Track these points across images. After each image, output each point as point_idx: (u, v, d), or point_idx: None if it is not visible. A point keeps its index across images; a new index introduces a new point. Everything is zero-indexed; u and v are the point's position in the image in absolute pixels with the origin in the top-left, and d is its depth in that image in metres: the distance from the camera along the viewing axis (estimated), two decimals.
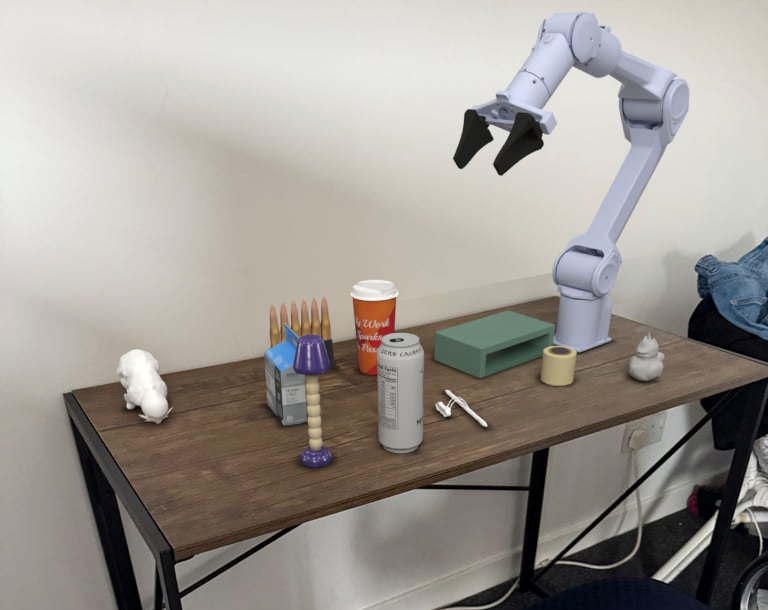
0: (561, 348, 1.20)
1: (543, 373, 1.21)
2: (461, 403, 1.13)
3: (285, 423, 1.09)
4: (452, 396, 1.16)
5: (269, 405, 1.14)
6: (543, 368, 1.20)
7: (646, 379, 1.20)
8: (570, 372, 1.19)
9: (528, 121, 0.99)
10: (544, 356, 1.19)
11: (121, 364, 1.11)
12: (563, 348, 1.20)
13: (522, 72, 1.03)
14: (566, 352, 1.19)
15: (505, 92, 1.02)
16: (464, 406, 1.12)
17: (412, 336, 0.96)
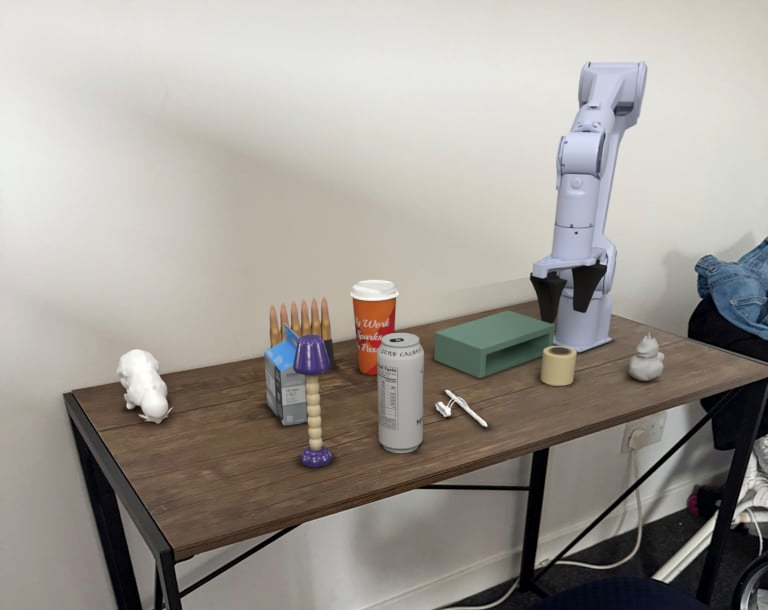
0: (561, 348, 1.20)
1: (543, 373, 1.21)
2: (461, 403, 1.13)
3: (285, 423, 1.09)
4: (452, 396, 1.16)
5: (269, 405, 1.14)
6: (543, 368, 1.20)
7: (646, 379, 1.20)
8: (570, 372, 1.19)
9: None
10: (544, 356, 1.19)
11: (121, 364, 1.11)
12: (563, 348, 1.20)
13: (589, 228, 1.07)
14: (566, 352, 1.19)
15: (595, 261, 1.09)
16: (464, 406, 1.12)
17: (412, 336, 0.96)
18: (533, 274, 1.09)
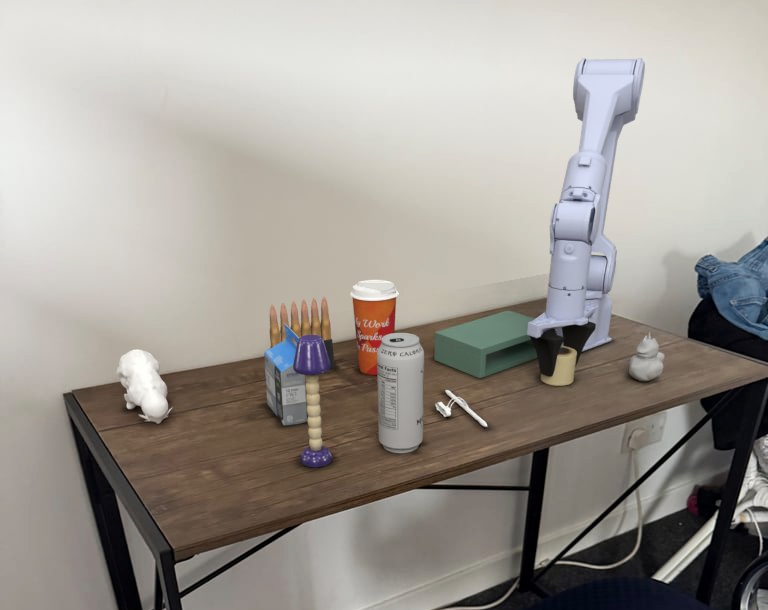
0: (561, 348, 1.20)
1: None
2: (461, 403, 1.13)
3: (285, 423, 1.09)
4: (452, 396, 1.16)
5: (269, 405, 1.14)
6: None
7: (646, 379, 1.20)
8: (570, 372, 1.19)
9: None
10: None
11: (121, 364, 1.11)
12: (563, 348, 1.20)
13: (581, 289, 1.12)
14: (566, 352, 1.19)
15: (587, 320, 1.14)
16: (464, 406, 1.12)
17: (412, 336, 0.96)
18: (528, 333, 1.14)
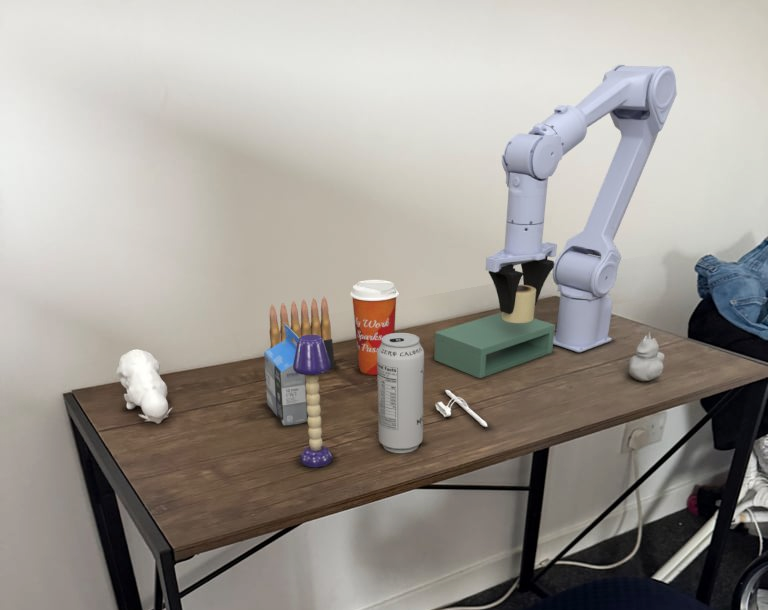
0: (521, 286, 1.22)
1: None
2: (461, 403, 1.13)
3: (285, 423, 1.09)
4: (452, 396, 1.16)
5: (269, 405, 1.14)
6: None
7: (646, 379, 1.20)
8: (529, 309, 1.21)
9: None
10: None
11: (121, 364, 1.11)
12: (523, 286, 1.22)
13: (538, 224, 1.14)
14: (525, 289, 1.21)
15: (545, 256, 1.16)
16: (464, 406, 1.12)
17: (412, 336, 0.96)
18: (486, 268, 1.16)
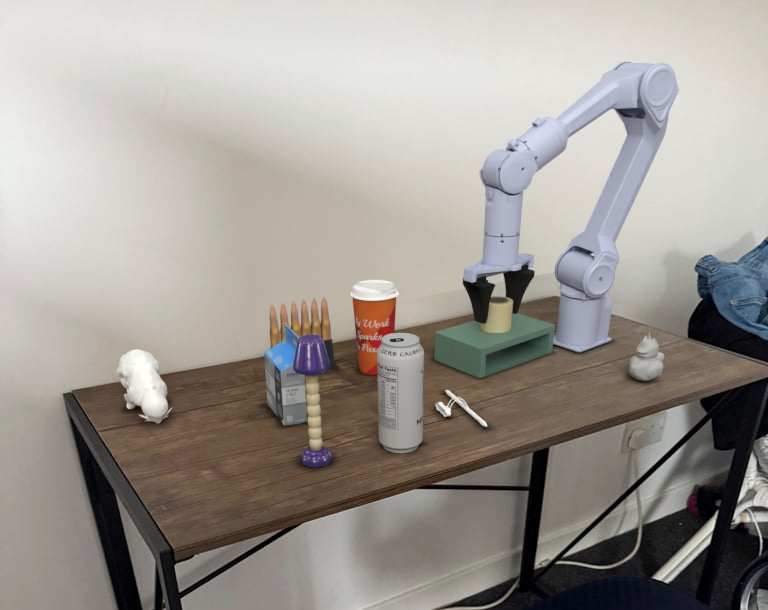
0: (499, 297, 1.27)
1: None
2: (461, 403, 1.13)
3: (285, 423, 1.09)
4: (452, 396, 1.16)
5: (269, 405, 1.14)
6: None
7: (646, 379, 1.20)
8: (506, 320, 1.26)
9: None
10: None
11: (121, 364, 1.11)
12: (501, 297, 1.27)
13: (513, 237, 1.18)
14: (502, 301, 1.25)
15: (520, 267, 1.21)
16: (464, 406, 1.12)
17: (412, 336, 0.96)
18: (464, 279, 1.20)
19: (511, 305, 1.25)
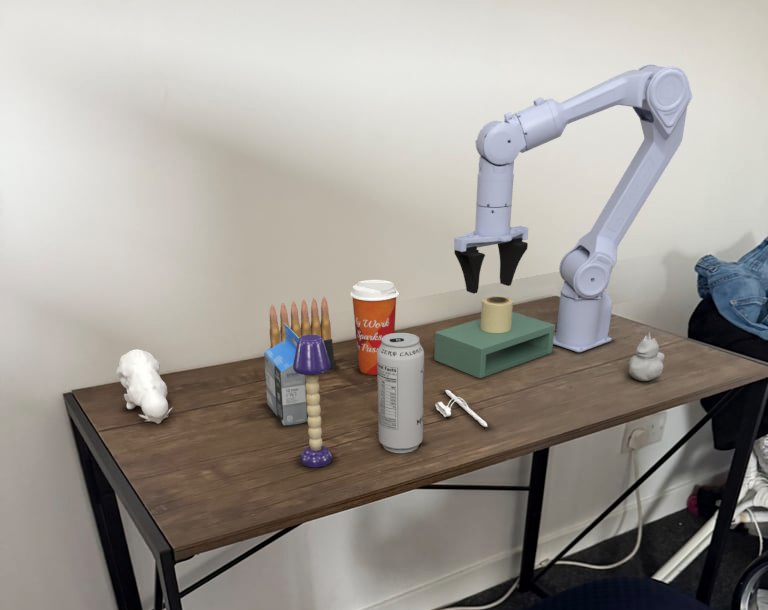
0: (499, 297, 1.27)
1: (482, 321, 1.27)
2: (461, 403, 1.13)
3: (285, 423, 1.09)
4: (452, 396, 1.16)
5: (269, 405, 1.14)
6: (482, 316, 1.27)
7: (646, 379, 1.20)
8: (506, 320, 1.26)
9: None
10: (482, 305, 1.26)
11: (121, 364, 1.11)
12: (501, 297, 1.27)
13: (504, 207, 1.21)
14: (502, 301, 1.25)
15: (511, 237, 1.23)
16: (464, 406, 1.12)
17: (412, 336, 0.96)
18: (454, 248, 1.23)
19: (511, 305, 1.25)
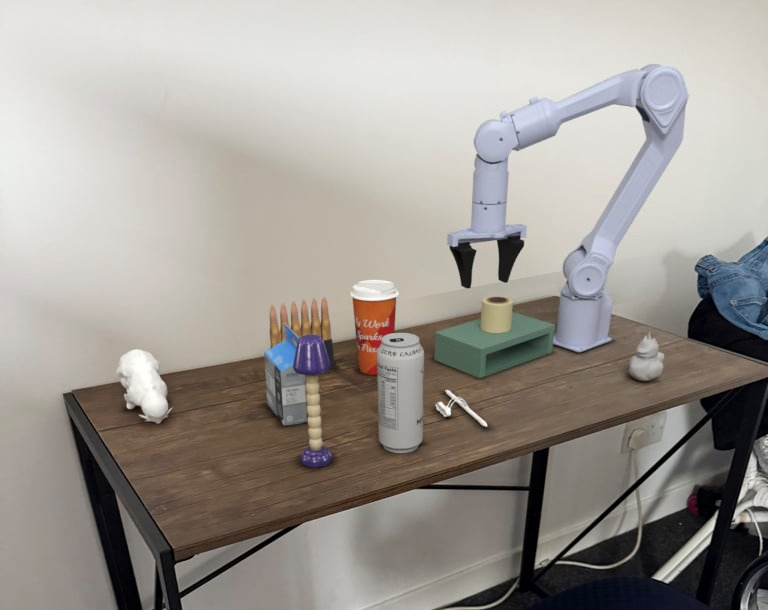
0: (499, 297, 1.27)
1: (482, 321, 1.27)
2: (461, 403, 1.13)
3: (285, 423, 1.09)
4: (452, 396, 1.16)
5: (269, 405, 1.14)
6: (482, 316, 1.27)
7: (646, 379, 1.20)
8: (506, 320, 1.26)
9: None
10: (482, 305, 1.26)
11: (121, 364, 1.11)
12: (501, 297, 1.27)
13: (497, 204, 1.23)
14: (502, 301, 1.25)
15: (503, 235, 1.25)
16: (464, 406, 1.12)
17: (412, 336, 0.96)
18: (447, 243, 1.26)
19: (511, 305, 1.25)
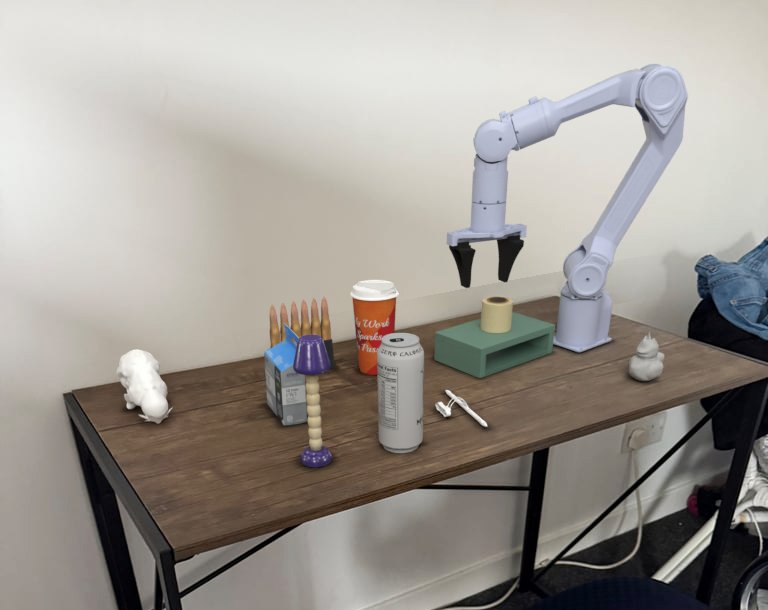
0: (499, 297, 1.27)
1: (482, 321, 1.27)
2: (461, 403, 1.13)
3: (285, 423, 1.09)
4: (452, 396, 1.16)
5: (269, 405, 1.14)
6: (482, 316, 1.27)
7: (646, 379, 1.20)
8: (506, 320, 1.26)
9: None
10: (482, 305, 1.26)
11: (121, 364, 1.11)
12: (501, 297, 1.27)
13: (496, 204, 1.23)
14: (502, 301, 1.25)
15: (503, 234, 1.25)
16: (464, 406, 1.12)
17: (412, 336, 0.96)
18: (447, 242, 1.27)
19: (511, 305, 1.25)
